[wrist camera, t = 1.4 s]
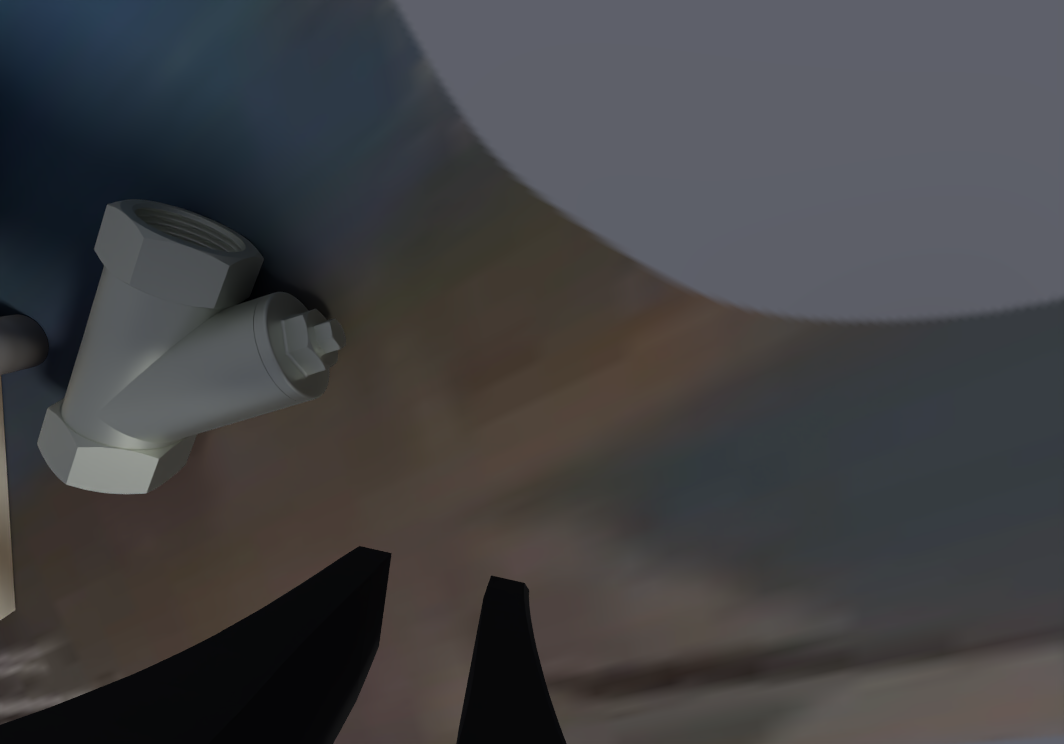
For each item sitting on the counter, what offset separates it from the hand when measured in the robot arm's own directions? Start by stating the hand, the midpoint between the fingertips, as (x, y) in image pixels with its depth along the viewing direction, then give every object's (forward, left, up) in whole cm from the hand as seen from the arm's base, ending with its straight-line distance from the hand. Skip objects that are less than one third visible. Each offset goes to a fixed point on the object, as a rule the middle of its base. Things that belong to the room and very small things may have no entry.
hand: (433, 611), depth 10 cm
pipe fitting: (+1, +9, -9) cm, 13 cm away
